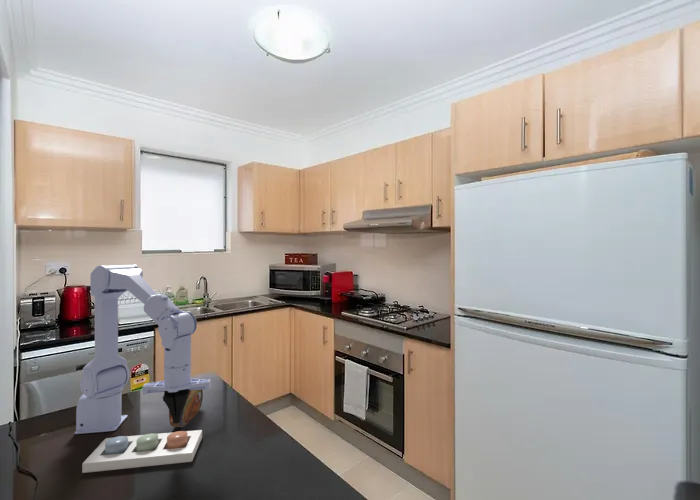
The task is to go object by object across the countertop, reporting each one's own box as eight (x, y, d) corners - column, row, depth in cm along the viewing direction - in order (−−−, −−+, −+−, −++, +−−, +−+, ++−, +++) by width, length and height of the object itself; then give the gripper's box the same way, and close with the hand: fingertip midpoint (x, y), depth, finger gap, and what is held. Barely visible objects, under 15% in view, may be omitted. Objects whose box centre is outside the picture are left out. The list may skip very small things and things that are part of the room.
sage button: (133, 455, 78) (133, 444, 78) (140, 444, 83) (140, 434, 83) (154, 453, 79) (154, 442, 79) (160, 442, 84) (160, 432, 84)
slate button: (101, 458, 77) (101, 447, 77) (110, 447, 81) (110, 436, 81) (122, 456, 78) (122, 445, 78) (131, 445, 82) (131, 435, 82)
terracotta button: (164, 452, 80) (164, 441, 80) (170, 441, 84) (170, 431, 84) (184, 450, 80) (184, 440, 80) (189, 439, 85) (189, 430, 85)
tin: (178, 433, 90) (178, 401, 90) (166, 433, 90) (166, 401, 90) (203, 406, 105) (204, 379, 105) (193, 406, 105) (193, 379, 105)
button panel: (82, 472, 74) (82, 463, 74) (105, 446, 84) (105, 438, 84) (192, 461, 78) (192, 452, 78) (202, 437, 88) (202, 429, 88)
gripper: (137, 372, 77) (137, 432, 77) (206, 368, 80) (206, 426, 80) (149, 361, 84) (149, 417, 84) (212, 358, 86) (212, 412, 87)
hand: (177, 421), depth 82 cm, fingers closed
